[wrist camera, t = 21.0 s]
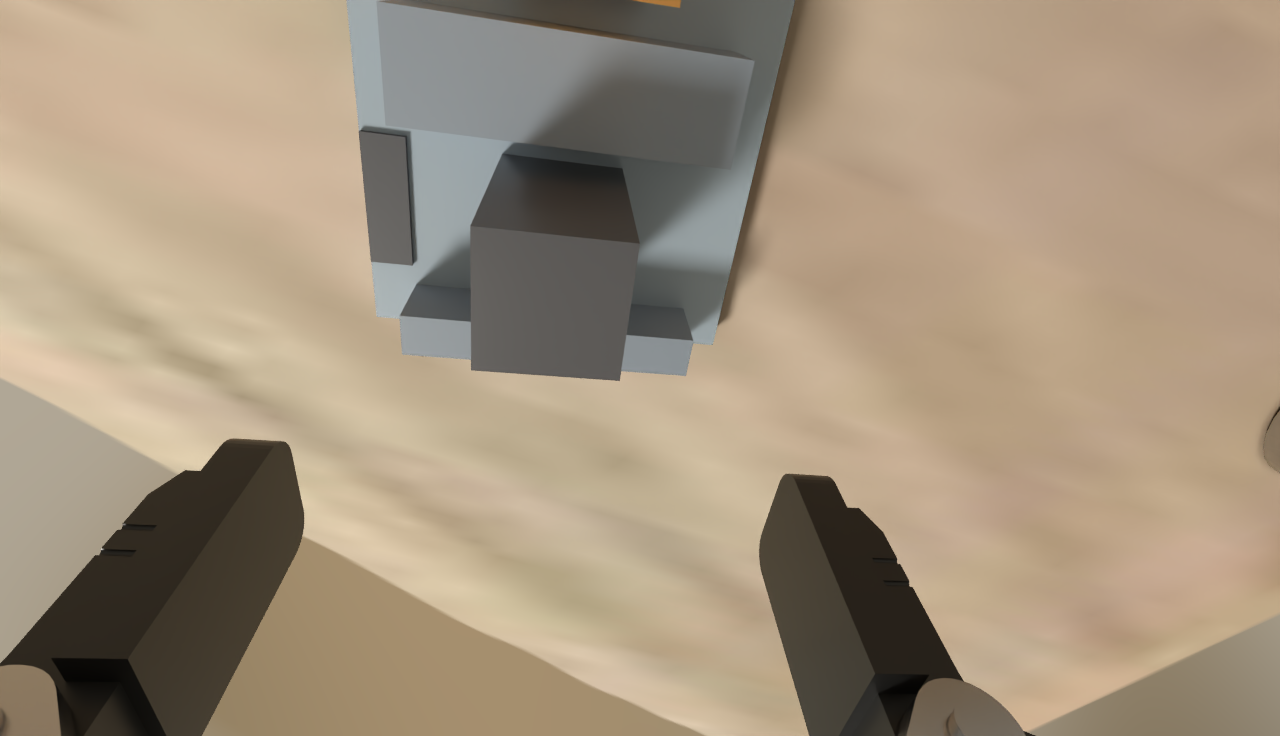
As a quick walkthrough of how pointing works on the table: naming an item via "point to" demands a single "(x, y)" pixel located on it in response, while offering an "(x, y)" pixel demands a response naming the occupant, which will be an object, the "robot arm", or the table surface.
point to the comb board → (654, 187)
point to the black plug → (552, 269)
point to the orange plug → (663, 2)
